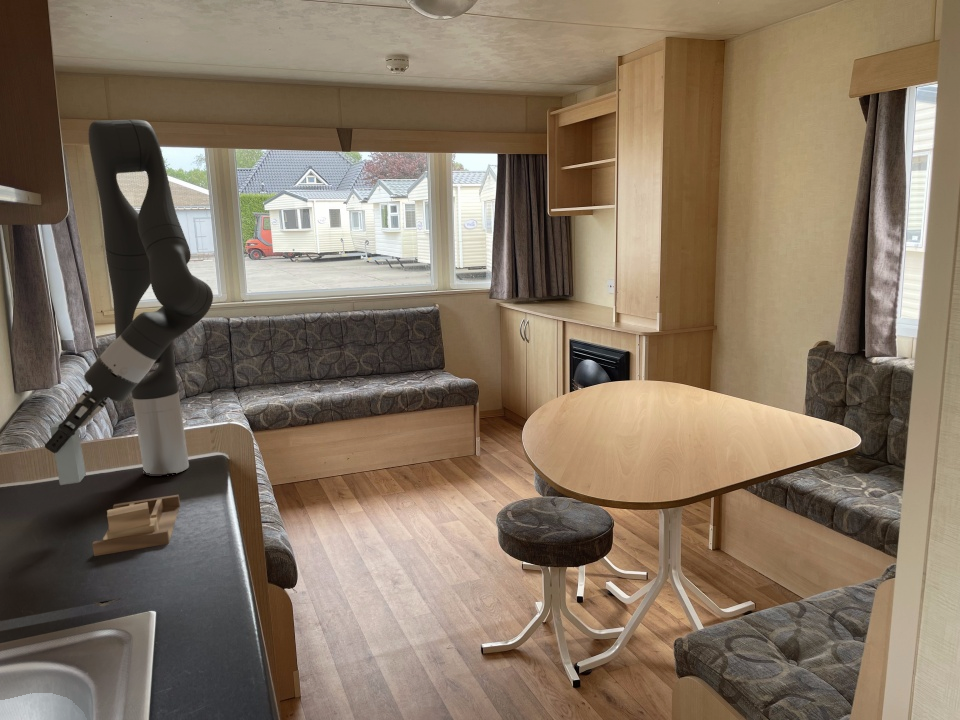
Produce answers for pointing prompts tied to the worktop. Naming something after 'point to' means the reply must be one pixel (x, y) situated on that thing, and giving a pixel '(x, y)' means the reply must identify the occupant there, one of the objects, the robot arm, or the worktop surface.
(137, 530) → the offcut low
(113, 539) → the rack
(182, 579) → the worktop surface
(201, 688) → the worktop surface
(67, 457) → the block
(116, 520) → the offcut top
